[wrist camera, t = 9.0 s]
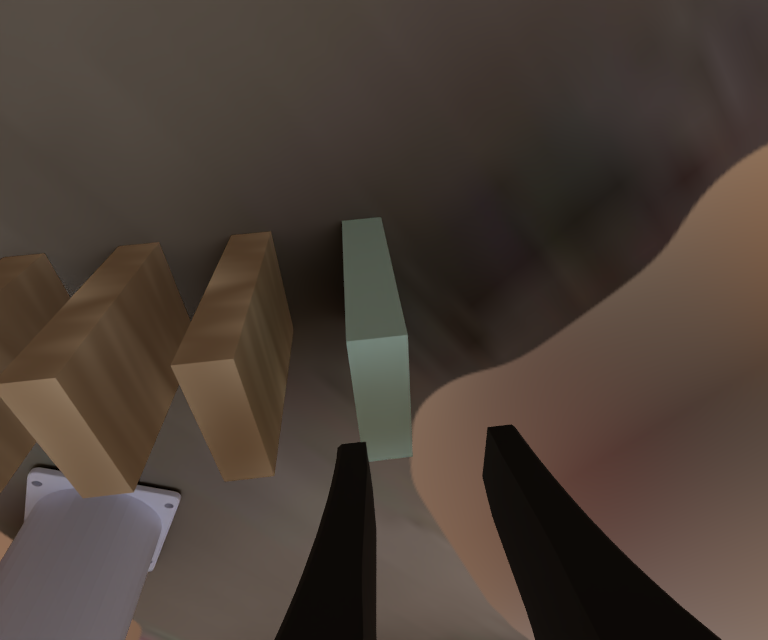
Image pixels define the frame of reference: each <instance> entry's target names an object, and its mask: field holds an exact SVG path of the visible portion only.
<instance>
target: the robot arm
mask: <svg viewBox="0 0 768 640" xmlns="http://www.w3.org/2000/svg"><path fill="white" fill-rule="evenodd" d="M485 448H486V449H485V457H484V467H483V481H484V485H485V489H486V493H487V497H488V501H489V505H490V509H491V513H492V517H493V519H494V523H495V525H496V528H497V531H498V534H499V537H500V539H501V542H502V545H503V548H504V550H505V553H506V556H507V559H508V562H509V564H510V567H511V570H512V573H513V575H514V578H515V581H516V584H517V586H518V589H519V592H520V595H521V597H522V600H523V603H524V606H525V608H526V611H527V614H528V618H529V621H530V624H531V627H532V630H533V633H534V637H535V640H721V639H720V638H719V637H718V636H716V635H715V634H714V633H713V632H712V631H710V630H709V629H708V628H707V627H706V626H704V625H703V624H702V623H701V622H699V621H698V620H697V619H696V618H695V617H694V616H692V615H691V614H690V613H689V612H688V611H686V610H685V609H684V608H683V607H682V606H680V605H679V604H678V603H677V602H676V601H675V600H674V599H673V598H671V597H670V596H669V595H668V594H667V593H666V592H665V591H664V590H662V589H661V588H660V587H659V586H658V585H657V584H656V583H655V582H654V581H652V580H651V579H650V578H649V577H648V576H647V575H646V574H645V573H644V572H643V571H642V570H641V569H640V568H638V566H637V565H636V564H634V563H633V562H632V561H631V560H630V559H629V558H628V557H627V556H626V555H625V554H624V553H623V552H622V551H621V550H620V549H619V548H618V547H617V546H616V545H615V544H614V543H613V542H612V541H611V540H610V539H609V538H608V537H607V536H606V535H605V534H604V533H603V531H602V530H601V529H600V528H599V527H598V526H597V525H596V524H595V523H594V522H593V521H592V520H591V519H590V518H589V517H588V516H587V514H586V513H584V511H583V510H582V509H581V508H580V507H579V506H578V504H577V503H576V502H575V501H574V500H573V499H572V498H571V496H570V495H569V494H568V493H567V492H566V491H565V490H564V488H563V487H562V486H561V485H560V484H559V483H558V481H557V480H556V479H555V478H554V477H553V476H552V474H551V473H550V472H549V471H548V469H547V468H546V467H545V466H544V464H543V463H542V462H541V461H540V460H539V458H538V457H537V456H536V454H535V453H534V452H533V451H532V449H531V448H530V447H529V445H528V444H527V443H526V441H525V440H524V439H523V437H522V436H521V435H520V433H519V432H518V431H517V429H516V428H515V427H514V426H513V425H504V426H495V427H488V429H487V438H486V447H485ZM180 499H181V495H180V494H179V493H178V492H175V491H170V490H165V489H159V488H153V487H148V486H142V485H137V486H136V488H135V491H134V492H133V493H125V494H116V495H108V496H100V497H91V498H82V497H81V496H80V494H79V493H78V492H77V491H76V489H75V488H74V487H73V486H72V484H71V483H70V482H69V481H68V480H67V478H66V477H65V476H64V475H63V473H62V472H61V471H58V470H53V469H47V468H41V467H37V468H33V469H31V471H30V472H29V474H28V476H27V488H26V501H25V514H24V524H23V525H22V527H21V529H20V530H19V532H18V533H17V535H16V537H15V538H14V540H13V542H12V543H11V545H10V547H9V548H8V550H7V552H6V553H5V555H4V557H3V558H2V560H1V562H0V640H125V638H126V635H127V632H128V630H129V626H130V624H131V621H132V618H133V615H134V612H135V609H136V606H137V603H138V600H139V597H140V594H141V591H142V588H143V585H144V582H145V579H146V576H147V573H148V572H149V571H152V570H153V569H154V567H155V564H156V562H157V559H158V556H159V554H160V551H161V549H162V546H163V543H164V541H165V538H166V536H167V533H168V531H169V528H170V525H171V523H172V520H173V518H174V515H175V513H176V510H177V507H178V505H179V502H180ZM274 640H376V521H375V509H374V498H373V488H372V481H371V474H370V467H369V460H368V453H367V446H366V442H357V443H349V444H342V445H340V446H339V447H338V450H337V459H336V464H335V470H334V475H333V479H332V483H331V487H330V491H329V495H328V499H327V502H326V506H325V509H324V512H323V516H322V519H321V522H320V526H319V529H318V532H317V535H316V538H315V541H314V544H313V546H312V549H311V552H310V555H309V557H308V560H307V563H306V566H305V568H304V571H303V574H302V577H301V579H300V582H299V584H298V587H297V589H296V592H295V594H294V596H293V599H292V601H291V604H290V606H289V608H288V611H287V613H286V615H285V617H284V620H283V622H282V624H281V627H280V629H279V631H278V633H277V635H276V637H275V639H274Z"/></svg>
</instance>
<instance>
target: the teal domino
mask: <svg viewBox="0 0 768 640" xmlns="http://www.w3.org/2000/svg"><path fill="white" fill-rule="evenodd" d="M342 238H343V266H344V295H345V323H346V344H347V351H348V358H349V365H350V372H351V378H352V385H353V392H354V399H355V406H356V413H357V420H358V426H359V433H360V440H361V442H366V446H367V453H368V460H369V462H370V461H379V460H387V459H396V458H404V457H412V456H413V454H412V429H411V405H410V380H409V355H408V334H407V330H406V325H405V321H404V316H403V312H402V308H401V303H400V299H399V294H398V290H397V286H396V281H395V277H394V272H393V268H392V264H391V259H390V255H389V250H388V246H387V242H386V237H385V233H384V228H383V224H382V219H381V217H377V218H366V219H356V220H345V221H342Z"/></svg>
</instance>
